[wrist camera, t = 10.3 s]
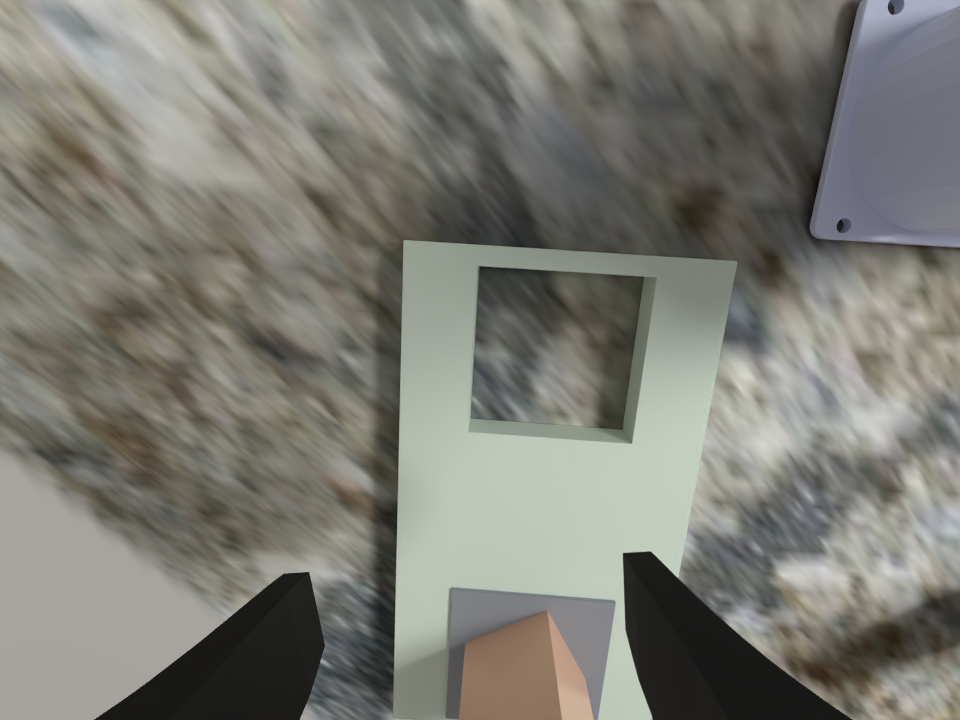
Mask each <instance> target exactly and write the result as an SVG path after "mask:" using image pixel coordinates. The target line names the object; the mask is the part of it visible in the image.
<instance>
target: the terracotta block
mask: <svg viewBox="0 0 960 720" xmlns="http://www.w3.org/2000/svg"><path fill="white" fill-rule="evenodd" d="M459 720H594V719H593V714H592V709H591V704H590V699H589V694H588V690H587V685H586V680H585V677H584V676H583V674H582V672H581V670H580V668H579V667H578V665H577V663H576V661H575V659H574V658H573V656H572V654H571V652H570V650H569V648H568V647H567V645H566V643H565V641H564V639H563V638H562V636H561V634H560V632H559V630H558V629H557V627H556V625H555V623H554V621H553V620H552V618H551V616H550V614H549V612H548V611H545V612H542V613H540V614H537V615H535V616H532V617H529V618H527V619H524V620H522V621H519V622H517V623H514V624H512V625H509V626H506V627H504V628H501V629H499V630H496V631H494V632H491V633H489V634H486V635H484V636H481V637H478V638H476V639H473V640H471V641H468V642H466V643H465V653H464V664H463V676H462V688H461V700H460V711H459Z"/></svg>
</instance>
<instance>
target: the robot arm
mask: <svg viewBox="0 0 960 720" xmlns="http://www.w3.org/2000/svg"><path fill="white" fill-rule="evenodd" d="M889 3H891V4H893V6H894V14H893V15H892V14H890V13H889V11H888V4H889ZM840 220H842V221H843V225H844V227H843V229H842V230H841V231H840V232H838V230H837V228H836V225H837V223H838V221H840ZM810 231H811V234H812V235H813V236H814V237H815V238H818V239H827V240H843V241H859V242H875V243H892V244H908V245H924V246H940V247H956V248H960V0H862V1H861V2H860V4H859V7H858V9H857V13H856V18H855V22H854V27H853V31H852V36H851V40H850V45H849V50H848V54H847V59H846V63H845V68H844V72H843V77H842V81H841V86H840V90H839V95H838V99H837V104H836V109H835V113H834V118H833V122H832V127H831V131H830V136H829V140H828V145H827V149H826V154H825V158H824V163H823V168H822V172H821V177H820V181H819V186H818V190H817V195H816V199H815V204H814V208H813V213H812V217H811V222H810ZM623 576H624V605H625V630H626V634H627V638H628V642H629V646H630V650H631V654H632V658H633V661H634V665H635V669H636V672H637V676H638V680H639V682H640V685H641V688H642V691H643V693H644V696H645V699H646V702H647V704H648V707H649V710H650V712H651V715H652V718H653V720H852V719H850V718H849V717H848V716H846V715H845V714H843V713H842V712H840V711H839V710H837V709H836V708H834V707H833V706H831V705H830V704H828V703H827V702H826V701H824V700H823V699H821V698H820V697H819V696H817V695H816V694H814V693H813V692H812V691H810V690H809V689H808V688H806V687H805V686H803V685H802V684H801V683H799V682H798V681H797V680H795V679H794V678H792V677H791V676H790V675H788V674H787V673H786V672H784V671H783V670H782V669H780V668H779V667H778V666H777V665H775V664H774V663H773V662H771V661H770V660H769V659H768V658H766V657H765V656H764V655H763V654H761V653H760V652H759V651H758V650H757V649H755V648H754V647H753V646H752V645H751V644H749V643H748V642H747V641H746V640H745V639H743V638H742V637H741V636H740V635H739V634H738V633H737V632H735V631H734V630H733V629H732V628H731V627H730V626H728V625H727V624H726V623H725V622H724V621H723V620H722V619H721V618H720V617H719V616H717V615H716V614H715V613H714V612H713V611H712V610H711V609H710V608H709V607H708V606H707V605H705V604H704V603H703V602H702V601H701V600H700V599H699V598H698V597H697V596H696V595H695V594H694V593H693V592H692V591H691V590H690V589H689V588H688V587H687V586H686V585H685V584H683V583H682V582H681V581H680V580H679V579H678V578H677V577H676V576H675V575H674V574H673V573H672V572H671V571H670V570H669V569H668V568H667V567H666V566H665V565H664V564H663V563H662V562H661V561H660V560H659V559H658V558H657V557H656V556H655V555H654V554H653V553H652V552H651V551H646V552H630V553H623ZM324 647H325V643H324V639H323V634H322V630H321V625H320V620H319V616H318V611H317V606H316V602H315V597H314V593H313V588H312V583H311V579H310V574H309V572H304V573H288V574H283V575H282V576H280V577H279V578H277V579H276V580H275V581H274V582H272V583H271V584H270V585H268V586H267V587H266V588H265V589H263V590H262V591H261V592H260V593H259V594H257V595H256V596H255V597H254V598H253V599H251V600H250V601H249V602H248V603H247V604H245V605H244V606H243V607H242V608H241V609H239V610H238V611H237V612H236V613H235V614H233V615H232V616H231V617H230V618H228V619H227V620H226V621H225V622H224V623H222V624H221V625H220V626H219V627H217V628H216V629H215V630H214V631H213V632H212V633H210V634H209V635H208V636H207V637H205V638H204V639H203V640H202V641H201V642H199V643H198V644H197V645H195V646H194V647H193V648H192V649H190V650H189V651H188V652H186V653H185V654H184V655H182V656H181V657H180V658H179V659H177V660H176V661H175V662H174V663H172V664H171V665H169V666H168V667H167V668H166V669H164V670H163V671H162V672H160V673H159V674H158V675H156V676H155V677H154V678H153V679H151V680H150V681H149V682H147V683H146V684H145V685H143V686H142V687H140V688H139V689H138V690H136V691H135V692H134V693H132V694H131V695H129V696H128V697H127V698H125V699H124V700H123V701H121V702H119V703H118V704H117V705H115V706H114V707H112V708H111V709H109V710H108V711H106V712H105V713H103V714H102V715H100V716H99V717H98V718H96V719H95V720H300V717H301V715H302V713H303V710H304V708H305V705H306V703H307V701H308V698H309V696H310V693H311V690H312V687H313V684H314V680H315V677H316V674H317V671H318V667H319V664H320V660H321V657H322V654H323V650H324Z"/></svg>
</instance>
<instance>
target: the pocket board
mask: <svg viewBox="0 0 960 720" xmlns="http://www.w3.org/2000/svg"><path fill="white" fill-rule="evenodd" d="M737 263H738V261H727V260H711V259H696V258H680V257H664V256H648V255H633V254H617V253H601V252H585V251H569V250H554V249H538V248H522V247H506V246H491V245H475V244H459V243H443V242H427V241H412V240H404V242H403V288H402V333H401V378H400V423H399V468H398V514H397V559H396V604H395V649H394V694H393V718H398V719H410V720H459V711H460V700H461V688H462V676H463V664H464V653H465V643H466V642H468V641H471V640H473V639H476V638H478V637H481V636H484V635H486V634H489V633H491V632H494V631H496V630H499V629H501V628H504V627H506V626H509V625H512V624H514V623H517V622H519V621H522V620H524V619H527V618H529V617H532V616H535V615H537V614H540V613H542V612H545V611H548V612H549V614H550V616H551V618H552V620H553V621H554V623H555V625H556V627H557V629H558V630H559V632H560V634H561V636H562V638H563V639H564V641H565V643H566V645H567V647H568V648H569V650H570V652H571V654H572V656H573V658H574V659H575V661H576V663H577V665H578V667H579V668H580V670H581V672H582V674H583V676H584V677H585V680H586V685H587V690H588V694H589V699H590V704H591V709H592V714H593V719H594V720H651V719H652V715H651V712H650V710H649V707H648V704H647V702H646V699H645V696H644V693H643V691H642V688H641V685H640V682H639V680H638V676H637V672H636V669H635V665H634V661H633V658H632V654H631V650H630V646H629V642H628V638H627V634H626V630H625V605H624V576H623V553H630V552H646V551H651V552H652V553H653V554H654V555H655V556H656V557H657V558H658V559H659V560H660V561H661V562H662V563H663V564H664V565H665V566H666V567H667V568H668V569H669V570H670V571H671V572H672V573H673V574H674V575H675V576H676V577H677V578H678V576H679V570H680V565H681V560H682V555H683V549H684V544H685V539H686V533H687V528H688V523H689V517H690V512H691V507H692V502H693V496H694V491H695V486H696V480H697V475H698V470H699V464H700V459H701V454H702V448H703V443H704V438H705V433H706V427H707V422H708V417H709V411H710V406H711V401H712V395H713V390H714V385H715V379H716V374H717V369H718V364H719V358H720V353H721V348H722V342H723V337H724V332H725V326H726V321H727V316H728V310H729V305H730V300H731V295H732V289H733V284H734V279H735V273H736V268H737ZM479 266H487V267H503V268H518V269H534V270H549V271H565V272H580V273H596V274H611V275H627V276H642V277H644V282H643V288H642V295H641V302H640V309H639V316H638V323H637V330H636V337H635V344H634V351H633V358H632V365H631V372H630V379H629V386H628V393H627V400H626V407H625V414H624V421H623V428H622V430H621V429H607V428H593V427H579V426H566V425H552V424H538V423H524V422H510V421H497V420H483V419H470V415H471V398H472V382H473V365H474V348H475V332H476V315H477V299H478V282H479Z"/></svg>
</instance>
